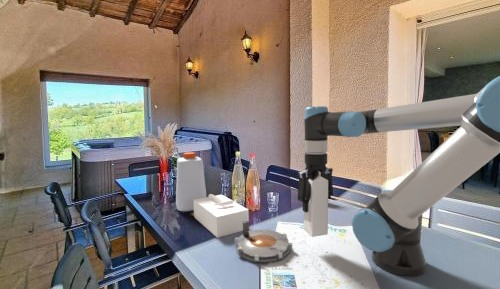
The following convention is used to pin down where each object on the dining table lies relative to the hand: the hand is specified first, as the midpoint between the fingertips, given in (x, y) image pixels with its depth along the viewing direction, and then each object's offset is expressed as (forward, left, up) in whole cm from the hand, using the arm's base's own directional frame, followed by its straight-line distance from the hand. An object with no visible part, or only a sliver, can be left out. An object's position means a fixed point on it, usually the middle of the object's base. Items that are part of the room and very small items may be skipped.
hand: (315, 218), depth 95 cm
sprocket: (+10, +15, -11) cm, 21 cm away
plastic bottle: (+66, +23, -12) cm, 71 cm away
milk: (0, 0, -5) cm, 5 cm away
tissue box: (+39, +19, -12) cm, 45 cm away
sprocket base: (+10, +15, -12) cm, 22 cm away
